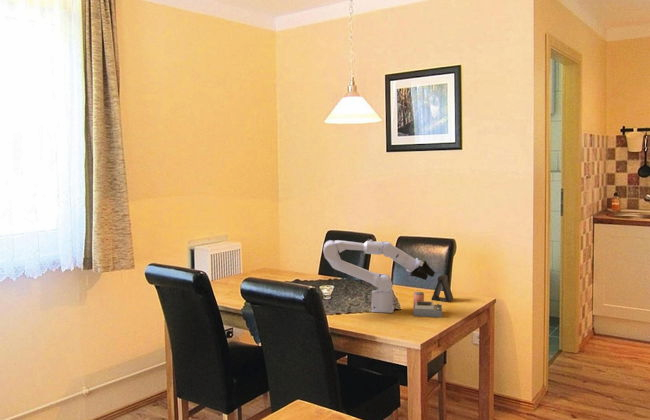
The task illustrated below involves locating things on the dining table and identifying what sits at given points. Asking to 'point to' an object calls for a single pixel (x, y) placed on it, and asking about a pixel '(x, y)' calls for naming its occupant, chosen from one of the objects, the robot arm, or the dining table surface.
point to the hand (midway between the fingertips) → (430, 276)
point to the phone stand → (446, 288)
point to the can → (418, 296)
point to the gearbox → (427, 309)
